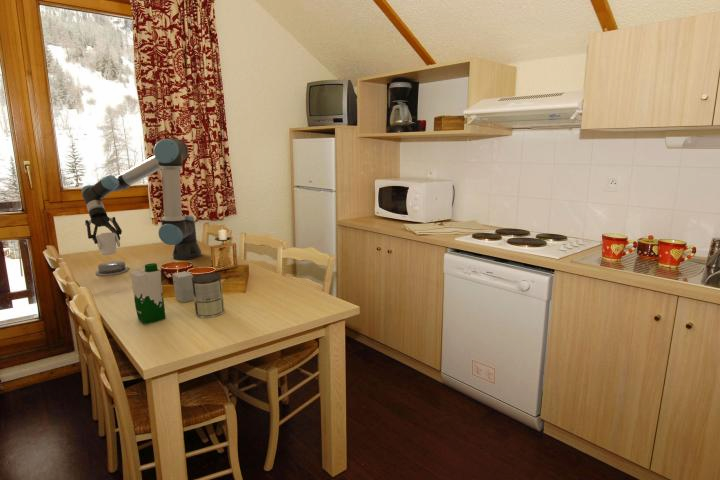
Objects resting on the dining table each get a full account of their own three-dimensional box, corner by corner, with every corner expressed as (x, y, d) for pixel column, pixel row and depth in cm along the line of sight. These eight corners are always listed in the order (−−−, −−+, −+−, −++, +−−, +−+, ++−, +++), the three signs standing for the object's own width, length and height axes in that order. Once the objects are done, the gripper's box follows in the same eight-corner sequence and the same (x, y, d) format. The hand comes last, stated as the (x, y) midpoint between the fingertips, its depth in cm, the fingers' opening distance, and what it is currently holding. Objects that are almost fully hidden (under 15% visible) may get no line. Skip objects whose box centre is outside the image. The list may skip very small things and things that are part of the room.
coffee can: (190, 314, 167) (185, 277, 164) (214, 306, 175) (210, 271, 172) (205, 320, 161) (201, 282, 158) (230, 311, 169) (226, 275, 166)
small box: (196, 299, 183) (193, 274, 181) (182, 303, 180) (179, 277, 177) (188, 295, 189) (185, 270, 187) (175, 298, 186) (172, 273, 183)
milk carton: (169, 318, 164) (162, 265, 159) (143, 326, 157) (135, 271, 153) (159, 313, 170) (152, 261, 165) (134, 320, 164) (126, 266, 159)
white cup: (121, 251, 231) (118, 232, 229) (111, 255, 223) (108, 235, 221) (106, 251, 232) (103, 232, 229) (96, 255, 224) (93, 235, 222)
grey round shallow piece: (133, 266, 237) (132, 259, 236) (121, 275, 222) (120, 267, 222) (104, 268, 236) (102, 261, 235) (89, 276, 221) (88, 268, 220)
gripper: (118, 213, 241) (131, 247, 233) (73, 218, 228) (85, 254, 220) (119, 204, 236) (133, 238, 228) (74, 208, 223) (86, 245, 215)
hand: (109, 246), depth 224 cm, fingers closed on white cup, 8 cm apart
